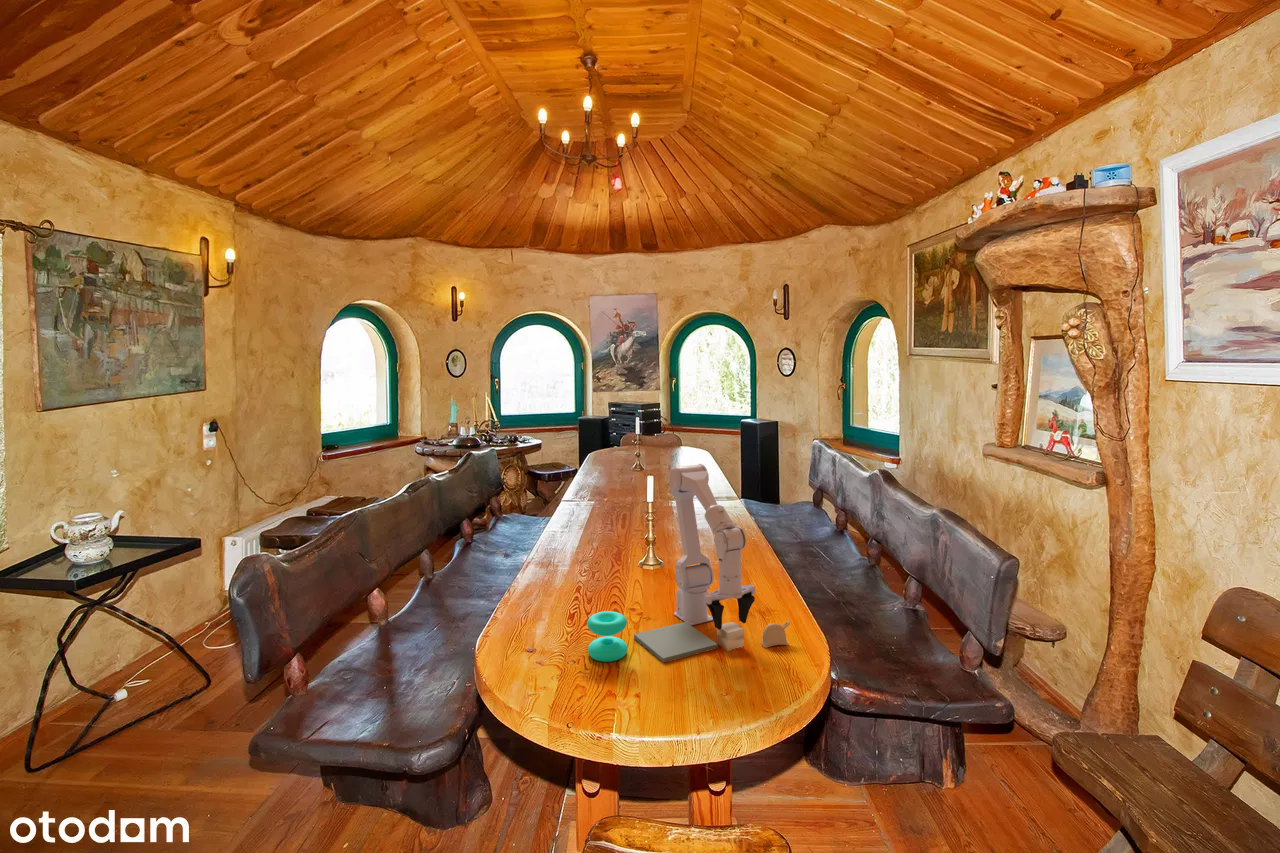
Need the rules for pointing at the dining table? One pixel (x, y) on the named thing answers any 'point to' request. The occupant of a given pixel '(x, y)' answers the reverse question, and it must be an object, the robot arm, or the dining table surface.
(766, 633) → the decorative ornament
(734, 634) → the cream cube
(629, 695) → the dining table surface
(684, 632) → the board
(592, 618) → the donuts
